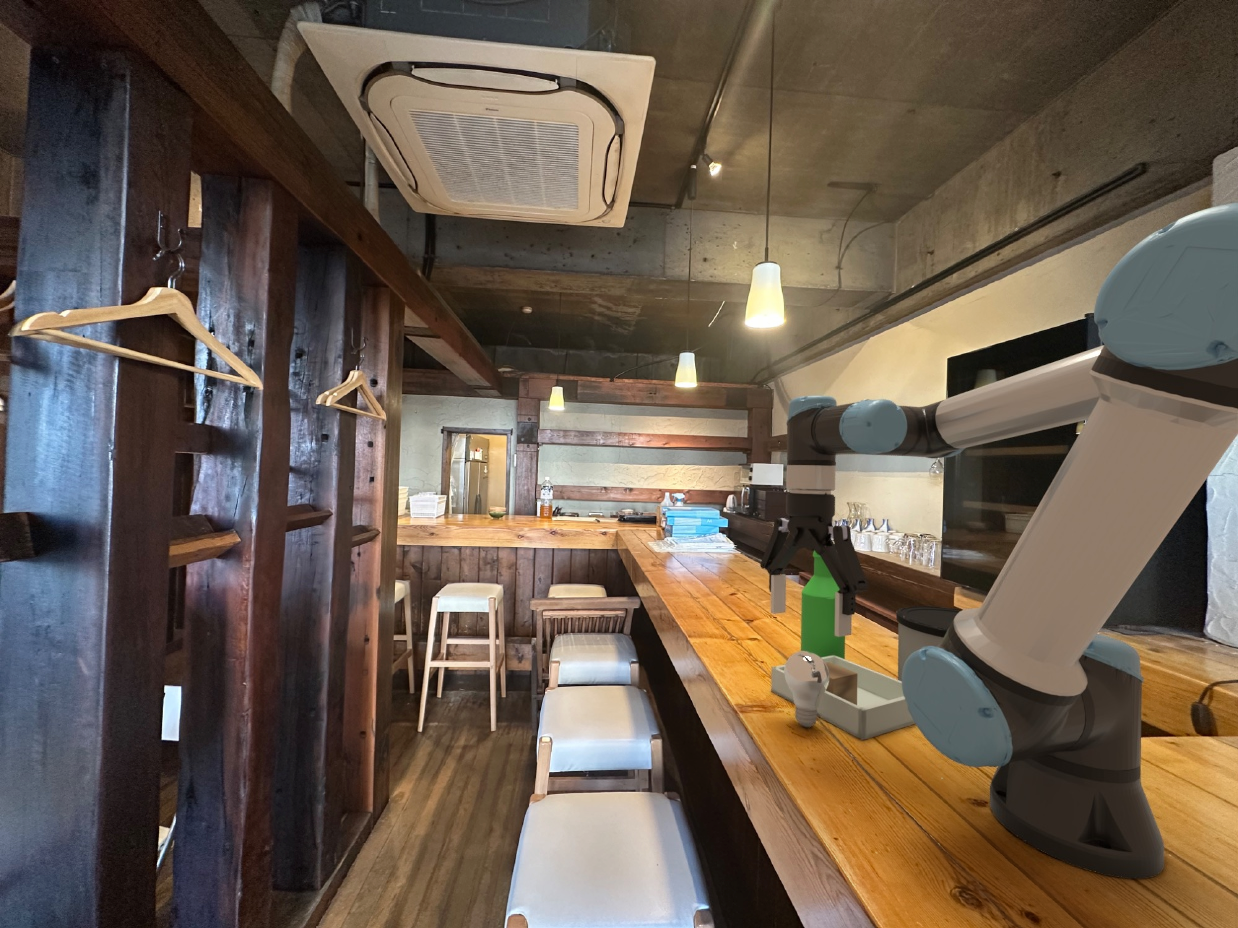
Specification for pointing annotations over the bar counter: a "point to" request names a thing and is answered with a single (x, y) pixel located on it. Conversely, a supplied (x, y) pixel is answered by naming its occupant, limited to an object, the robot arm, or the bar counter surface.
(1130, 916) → the bar counter surface
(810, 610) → the bottle
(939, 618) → the container
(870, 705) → the tray
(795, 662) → the light bulb
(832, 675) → the walnut block
